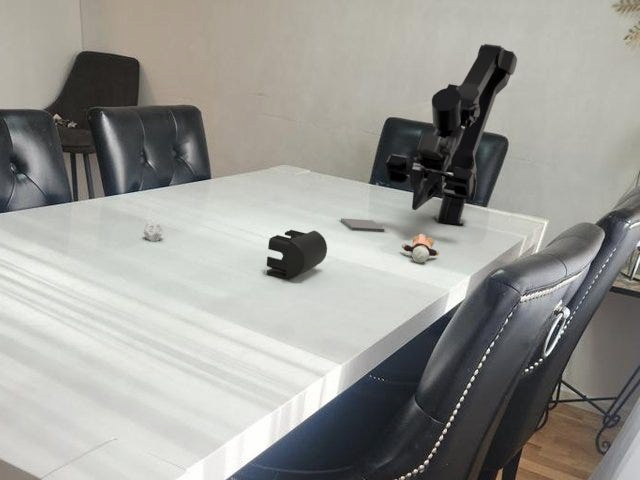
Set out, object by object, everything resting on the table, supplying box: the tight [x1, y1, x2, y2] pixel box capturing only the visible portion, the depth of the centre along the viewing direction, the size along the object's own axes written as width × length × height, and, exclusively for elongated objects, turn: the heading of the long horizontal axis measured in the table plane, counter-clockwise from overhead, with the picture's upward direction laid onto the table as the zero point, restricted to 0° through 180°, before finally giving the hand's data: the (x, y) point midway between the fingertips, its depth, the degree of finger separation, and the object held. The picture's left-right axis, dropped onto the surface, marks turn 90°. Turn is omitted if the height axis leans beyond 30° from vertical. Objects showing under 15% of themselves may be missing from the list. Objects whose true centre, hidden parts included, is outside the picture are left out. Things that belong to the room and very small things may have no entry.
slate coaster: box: [340, 218, 386, 233], centre depth 151 cm, size 8×8×1 cm
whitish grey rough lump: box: [143, 221, 164, 242], centre depth 121 cm, size 4×4×3 cm
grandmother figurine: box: [401, 233, 440, 264], centre depth 133 cm, size 8×4×13 cm
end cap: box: [266, 229, 328, 281], centre depth 113 cm, size 10×7×7 cm
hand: (413, 208), depth 138 cm, fingers closed
